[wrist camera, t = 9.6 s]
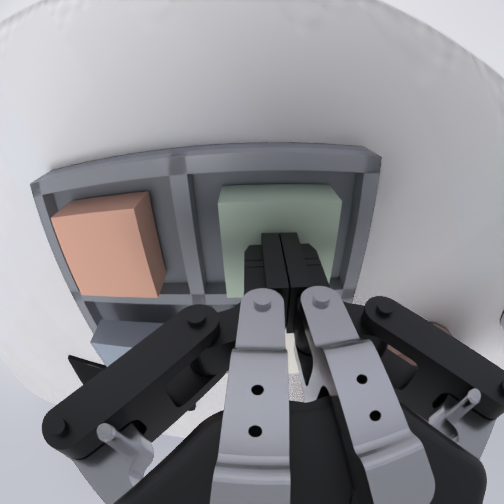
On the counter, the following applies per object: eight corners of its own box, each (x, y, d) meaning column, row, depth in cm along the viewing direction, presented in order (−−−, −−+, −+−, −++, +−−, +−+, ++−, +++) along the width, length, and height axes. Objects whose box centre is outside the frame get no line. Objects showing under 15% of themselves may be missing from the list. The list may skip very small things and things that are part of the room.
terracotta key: (148, 191, 12) (133, 208, 11) (166, 274, 15) (158, 297, 13) (70, 201, 12) (50, 217, 11) (95, 274, 15) (81, 295, 13)
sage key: (329, 184, 12) (342, 201, 11) (319, 270, 15) (327, 294, 13) (222, 185, 12) (217, 203, 11) (229, 272, 15) (227, 297, 13)
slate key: (171, 323, 15) (164, 350, 14) (187, 368, 18) (183, 391, 16) (100, 319, 15) (90, 342, 14) (126, 363, 18) (119, 384, 16)
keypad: (363, 146, 12) (381, 157, 11) (325, 346, 21) (330, 367, 20) (51, 170, 13) (29, 184, 11) (120, 345, 21) (113, 364, 20)
